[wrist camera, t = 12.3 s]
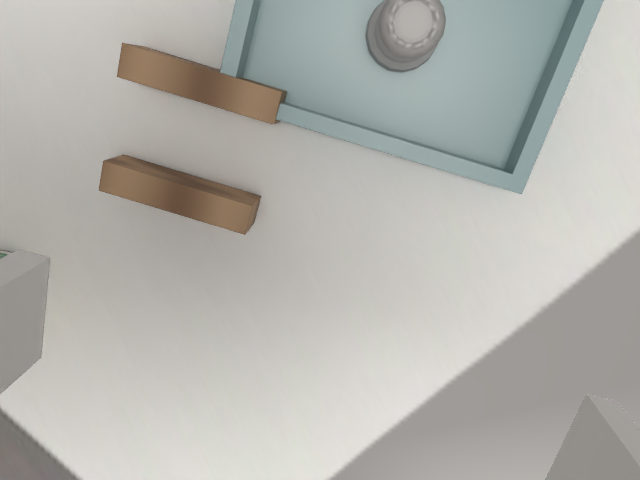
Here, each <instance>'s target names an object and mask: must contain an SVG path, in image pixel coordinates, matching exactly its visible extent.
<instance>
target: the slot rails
mask: <svg viewBox="0 0 640 480" xmlns="http://www.w3.org/2000/svg"><path fill="white" fill-rule="evenodd" d="M117 77H120V78H123V79H126V80H130V81H133V82H136V83H139V84H143V85H146V86H149V87H152V88H156V89H159V90H162V91H166V92H169V93H172V94H175V95H179V96H182V97H185V98H188V99H192V100H195V101H198V102H202V103H205V104H208V105H211V106H215V107H218V108H221V109H225V110H228V111H231V112H234V113H238V114H241V115H244V116H247V117H251V118H254V119H257V120H261V121H264V122H267V123H270V124H275V123H277V122H279V121H280V120H277V119H276V117H277V113H278V109H279V105H280V103H282V102H285V98H286V94H287V91H285V90H282V89H279V88H275V87H272V86H269V85H266V84H262V83H259V82H256V81H253V80H249V79H246V78H242V77H233V76H230V75H226V74H223V73H220V70H219V69H215V68H212V67H209V66H206V65H202V64H199V63H196V62H192V61H189V60H186V59H183V58H179V57H176V56H173V55H170V54H166V53H163V52H160V51H157V50H153V49H150V48H147V47H143V46H138V45H131V44H125V43H122V48H121V54H120V60H119V67H118V73H117ZM99 191H102V192H106V193H109V194H112V195H116V196H119V197H122V198H126V199H129V200H132V201H136V202H139V203H142V204H145V205H149V206H152V207H155V208H159V209H162V210H165V211H169V212H172V213H175V214H179V215H182V216H185V217H189V218H192V219H195V220H198V221H202V222H205V223H208V224H212V225H215V226H218V227H222V228H225V229H228V230H232V231H235V232H238V233H241V234H246V233H247V231H248V230H249V229H250V227H251V226H252V225H253V223H254V221H255V217H256V213H257V210H258V206H259V202H260V198H261V196H258V195H255V194H252V193H248V192H245V191H242V190H238V189H235V188H232V187H229V186H225V185H222V184H219V183H215V182H212V181H209V180H205V179H202V178H199V177H196V176H192V175H189V174H186V173H182V172H179V171H176V170H172V169H169V168H166V167H163V166H159V165H156V164H153V163H149V162H146V161H143V160H140V159H136V158H133V157H130V156H126V155H121V156H118V157H115V158H112V159H108V160H105V161H103V166H102V173H101V179H100V185H99Z"/></svg>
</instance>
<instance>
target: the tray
mask: <svg viewBox="0 0 640 480" xmlns="http://www.w3.org/2000/svg"><path fill="white" fill-rule="evenodd" d="M383 1H384V0H236V2H235V6H234V11H233V15H232V20H231V25H230V29H229V34H228V38H227V43H226V47H225V52H224V56H223V61H222V66H221V70H220V73H223V74H226V75H230V76H233V77H242V78H246V79H249V80H253V81H256V82H259V83H262V84H266V85H269V86H272V87H275V88H279V89H282V90H285V91H287V94H286V98H285V102H282V103H280V105H279V109H278V113H277V117H276V119H277V120H280V121H283V122H287V123H290V124H293V125H296V126H300V127H303V128H306V129H310V130H313V131H316V132H319V133H323V134H326V135H329V136H332V137H336V138H339V139H342V140H346V141H349V142H352V143H355V144H359V145H362V146H365V147H368V148H372V149H375V150H378V151H382V152H385V153H388V154H391V155H395V156H398V157H401V158H404V159H408V160H411V161H414V162H418V163H421V164H424V165H427V166H431V167H434V168H437V169H440V170H444V171H447V172H450V173H454V174H457V175H460V176H463V177H467V178H470V179H473V180H477V181H480V182H483V183H486V184H490V185H493V186H496V187H499V188H503V189H506V190H509V191H513V192H516V193H519V194H522V192H523V190H524V188H525V185H526V183H527V180H528V178H529V176H530V173H531V171H532V169H533V166H534V164H535V162H536V159H537V157H538V154H539V152H540V150H541V147H542V145H543V143H544V140H545V138H546V136H547V133H548V131H549V129H550V126H551V124H552V121H553V119H554V117H555V114H556V112H557V110H558V107H559V105H560V103H561V100H562V98H563V95H564V93H565V91H566V88H567V86H568V84H569V81H570V79H571V77H572V74H573V72H574V70H575V67H576V65H577V62H578V60H579V58H580V55H581V53H582V51H583V48H584V46H585V44H586V41H587V39H588V37H589V34H590V32H591V29H592V27H593V25H594V22H595V20H596V18H597V15H598V13H599V11H600V8H601V6H602V3H603V1H604V0H440V2H441V3H442V5H443V7H444V11H445V17H446V25H445V30H444V35H443V36H442V38H441V40H440V41H439V43H438V45H437V47H436V49H435V50H434V52H433V54H432V55H431V57H430V58H429V60H428V61H426V62H425V63H424V64H422V65H421V66H420V67H418V68H417V69H415V70H411V71H407V72H403V73H401V72H394V71H388V70H387V69H385V68H384V67H382V66H380V65H379V64H377V63H376V61H375V60H374V58H373V57H372V56H371V54H370V53H369V51H368V47H367V42H366V37H365V36H366V29H367V23H368V20H369V18H370V16H371V15H372V13H373V11H374V9H375V8H376V7H377V6H378V5H379V4H381V3H382V2H383Z"/></svg>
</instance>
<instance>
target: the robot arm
mask: <svg viewBox="0 0 640 480" xmlns="http://www.w3.org/2000/svg"><path fill="white" fill-rule="evenodd" d="M49 265H50V257H46V256H42V255H38V254H34V253H30V252H26V251H22V250H16V251H14V252H13V253H11V254H9V255H7V256H5V257H3V258H1V259H0V394H1V393H2V392H3V391H4V390H5V389H7V388H8V387H9V386H10V385H11V384H12V383H13V382H14V381H16V380H17V379H18V378H19V377H20V376H21V375H22V374H23V373H24V372H26V371H27V370H28V369H29V368H30V367H31V366H32V365H33V364H34V363H36V362H37V361H38V360H39V359H40V358H41V353H42V342H43V331H44V320H45V309H46V298H47V287H48V276H49ZM545 480H640V429H639V428H638V427H637V425H636V424H635V423H634V422H633V420H632V419H631V418H630V417H629V415H628V414H627V413H626V412H625V410H624V409H623V408H622V407H621V406H620V404H619V403H618V402H617V401H614V400H610V399H606V398H602V397H598V396H594V395H589V394H586V395H585V397H584V400H583V402H582V404H581V406H580V408H579V410H578V412H577V414H576V416H575V418H574V420H573V423H572V425H571V427H570V429H569V431H568V433H567V435H566V437H565V439H564V441H563V443H562V446H561V448H560V450H559V452H558V454H557V456H556V458H555V460H554V462H553V464H552V467H551V469H550V471H549V473H548V475H547V477H546V479H545Z"/></svg>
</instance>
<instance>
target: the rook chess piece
mask: <svg viewBox="0 0 640 480" xmlns="http://www.w3.org/2000/svg"><path fill="white" fill-rule="evenodd" d="M445 25H446V17H445V11H444V7H443V5H442V3H441V2H440V0H384V1H383V2H382V3H381V4H379V5H378V6H377V7H376V8H375V9H374V11H373V13H372V15H371V16H370V18H369V20H368V23H367V29H366V36H365V37H366V42H367V47H368V51H369V53H370V54H371V56H372V57H373V58H374V60H375V61H376V63H377V64H379V65H380V66H382V67H384V68H385V69H387V70H388V71H394V72H401V73H403V72H407V71H411V70H415V69H417V68H418V67H420V66H421V65H422V64H424V63H425V62H426V61H428V60H429V58H430V57H431V55H432V54H433V52H434V50H435V49H436V47H437V45H438V43H439V41H440V40H441V38H442V36H443V35H444V30H445Z"/></svg>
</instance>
